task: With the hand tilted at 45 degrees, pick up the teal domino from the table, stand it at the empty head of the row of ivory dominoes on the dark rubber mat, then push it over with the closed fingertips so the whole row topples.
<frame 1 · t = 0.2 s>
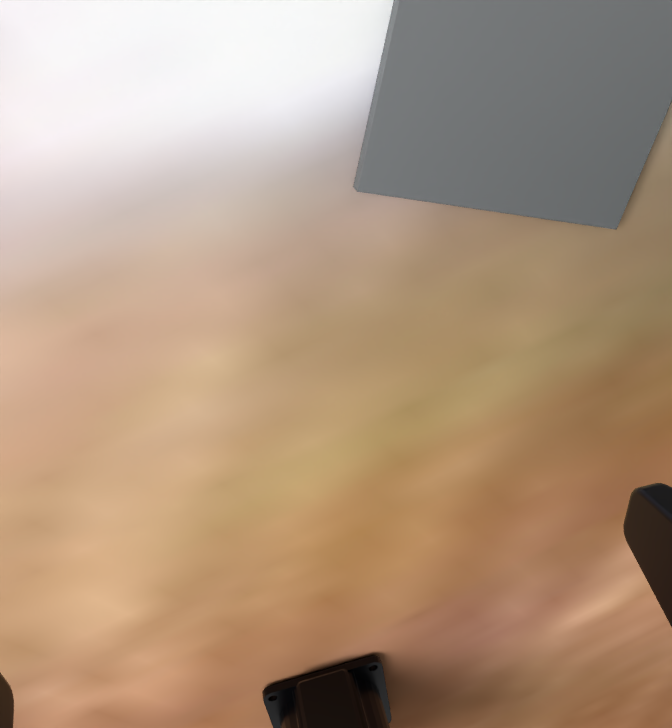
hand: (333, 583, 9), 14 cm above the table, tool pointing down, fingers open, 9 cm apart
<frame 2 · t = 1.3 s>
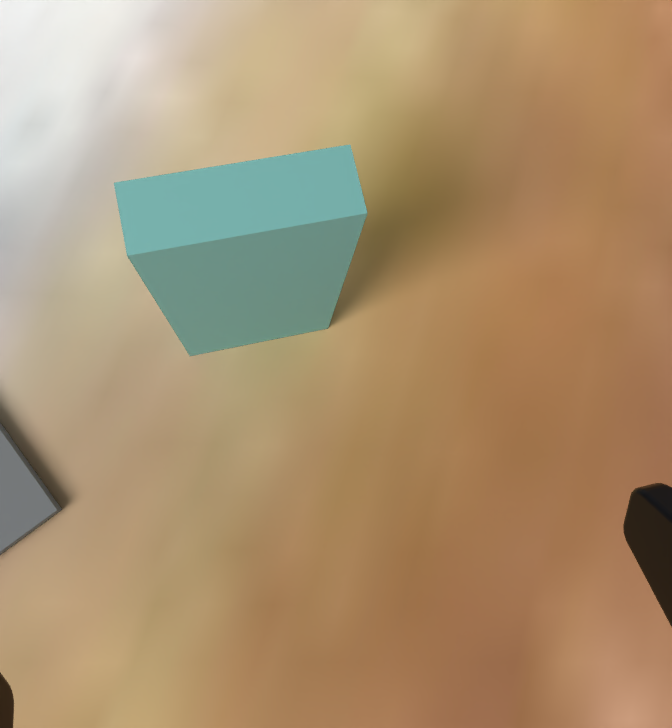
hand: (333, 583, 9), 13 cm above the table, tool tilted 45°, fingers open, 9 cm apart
teal domino: (255, 320, 23), on the table
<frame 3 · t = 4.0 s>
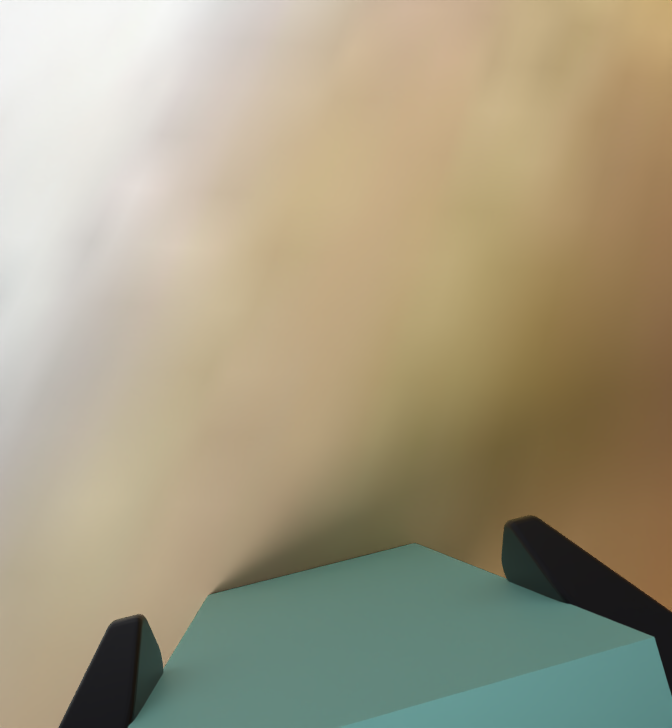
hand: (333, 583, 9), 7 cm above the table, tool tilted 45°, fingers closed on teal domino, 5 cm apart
teal domino: (321, 602, 15), on the table, touching gripper
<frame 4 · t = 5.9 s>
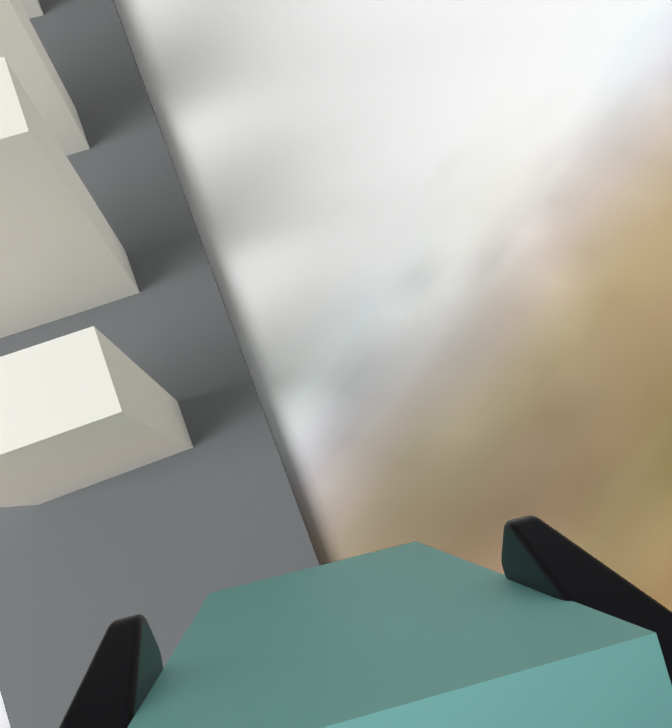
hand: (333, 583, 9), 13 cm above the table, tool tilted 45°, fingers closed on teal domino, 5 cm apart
domino 4: (10, 149, 22), resting on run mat
teal domino: (322, 601, 15), point 6 cm above the table, touching gripper
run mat: (54, 272, 22), on the table
domino 3: (58, 294, 21), resting on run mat
domino 2: (109, 451, 21), resting on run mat
when the fingers open (8 cm above the table, at t = 7.7 s): teal domino stays where it is, resting on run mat.
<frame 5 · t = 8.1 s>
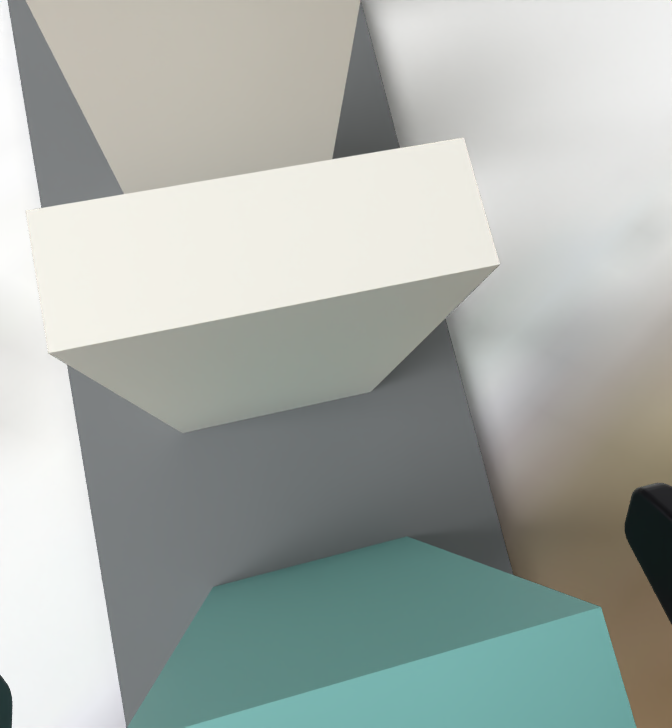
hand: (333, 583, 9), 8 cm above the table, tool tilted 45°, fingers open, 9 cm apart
teal domino: (319, 593, 16), resting on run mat
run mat: (224, 166, 18), on the table
domino 3: (230, 190, 18), resting on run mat
domino 2: (271, 382, 17), resting on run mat
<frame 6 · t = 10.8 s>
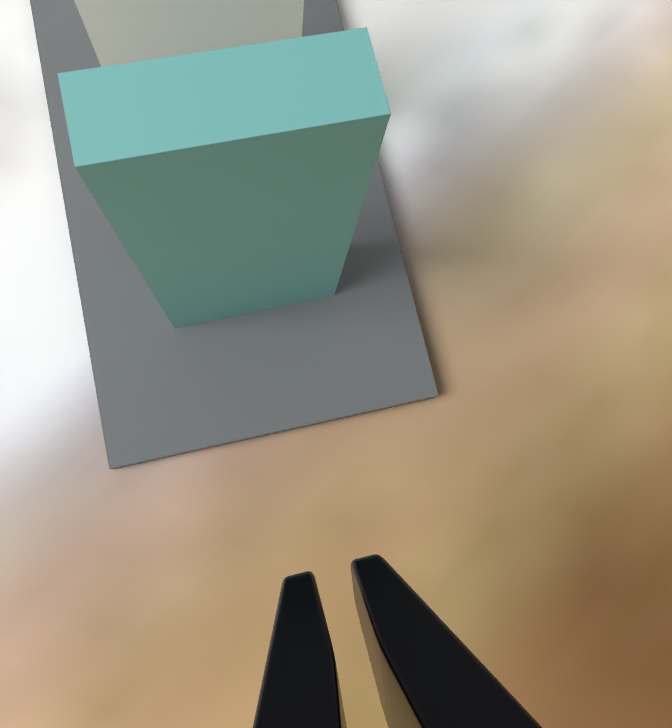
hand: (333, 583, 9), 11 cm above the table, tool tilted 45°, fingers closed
teal domino: (250, 287, 20), resting on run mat
domino 2: (214, 129, 21), resting on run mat
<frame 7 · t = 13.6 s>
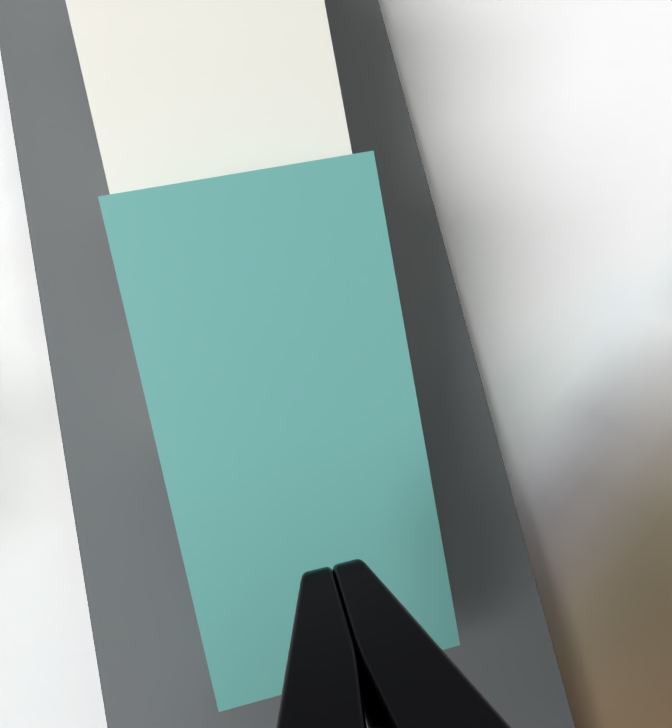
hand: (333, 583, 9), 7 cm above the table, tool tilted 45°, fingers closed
teal domino: (336, 655, 14), point 1 cm above the table, tilted 73°, touching domino 2, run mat
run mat: (235, 209, 17), on the table
domino 2: (281, 411, 15), point 1 cm above the table, tilted 73°, touching domino 3, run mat, teal domino
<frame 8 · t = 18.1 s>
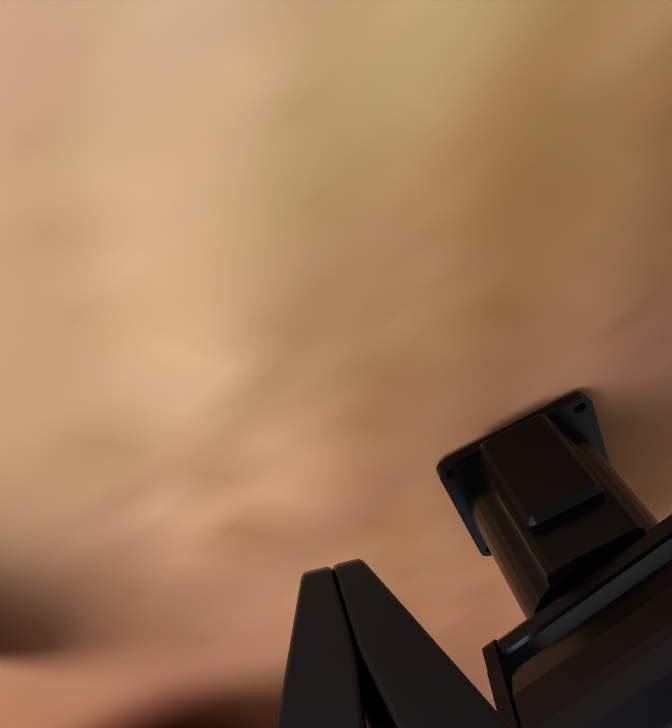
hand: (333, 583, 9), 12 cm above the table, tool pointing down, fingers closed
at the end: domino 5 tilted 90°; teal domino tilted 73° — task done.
